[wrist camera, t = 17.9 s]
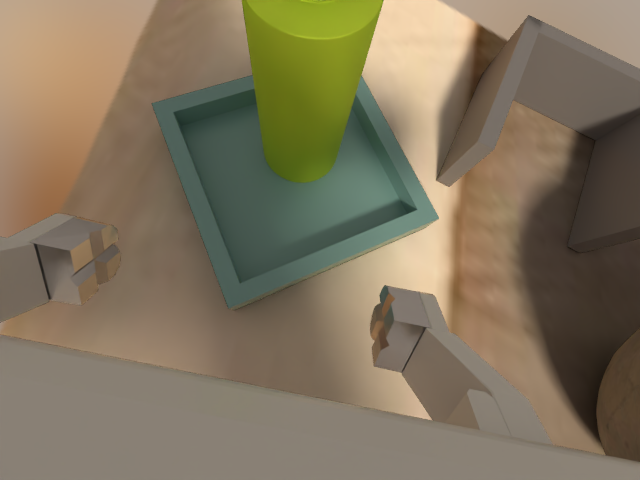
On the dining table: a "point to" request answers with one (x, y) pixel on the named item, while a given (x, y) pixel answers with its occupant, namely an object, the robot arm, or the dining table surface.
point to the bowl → (621, 402)
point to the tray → (286, 192)
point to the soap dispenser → (306, 77)
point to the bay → (564, 123)
